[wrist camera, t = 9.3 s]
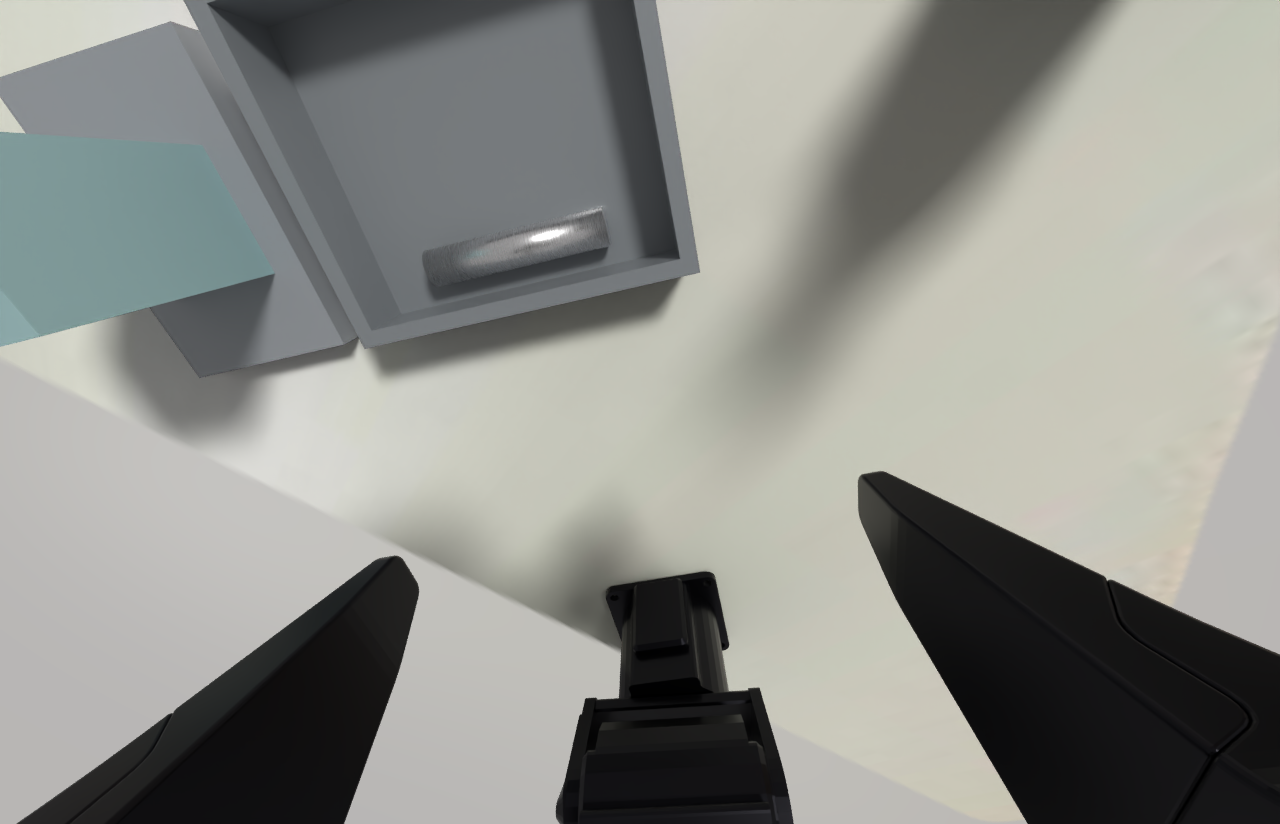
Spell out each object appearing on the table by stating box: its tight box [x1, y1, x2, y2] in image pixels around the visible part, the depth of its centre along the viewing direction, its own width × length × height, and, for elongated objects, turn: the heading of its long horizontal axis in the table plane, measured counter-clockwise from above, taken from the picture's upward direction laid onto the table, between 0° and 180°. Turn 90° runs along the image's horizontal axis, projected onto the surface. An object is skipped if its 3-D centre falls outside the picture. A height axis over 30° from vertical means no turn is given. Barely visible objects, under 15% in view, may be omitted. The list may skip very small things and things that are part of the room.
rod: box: [422, 207, 611, 287], centre depth 18 cm, size 1×7×1 cm, turn 103°
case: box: [184, 0, 700, 349], centre depth 16 cm, size 12×13×3 cm
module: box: [0, 132, 275, 347], centre depth 14 cm, size 4×4×9 cm
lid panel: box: [0, 22, 358, 378], centre depth 18 cm, size 11×7×1 cm, turn 13°
